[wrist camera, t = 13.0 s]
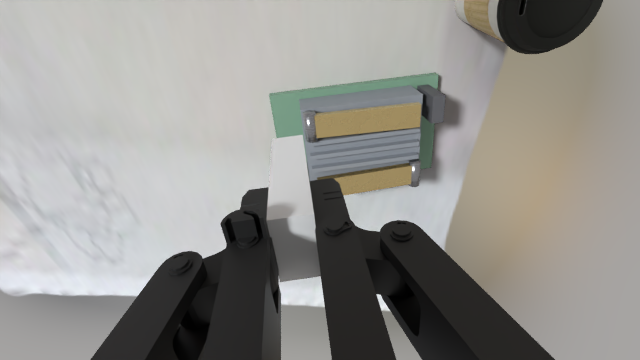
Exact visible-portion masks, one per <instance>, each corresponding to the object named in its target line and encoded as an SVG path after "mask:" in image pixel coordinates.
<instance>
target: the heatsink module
mask: <svg viewBox="0 0 640 360" xmlns="http://www.w3.org/2000/svg"><path fill="white" fill-rule="evenodd" d="M437 88H438V74H437V73H429V74H421V75H413V76H405V77H397V78H389V79H381V80H373V81H365V82H357V83H350V84H342V85H334V86H326V87H318V88H310V89H302V90H294V91H286V92H278V93H270V95H269V97H270V102H271V108H272V114H273V119H274V125H275V130H276V136H277V138H282V137H289V136H297V135H303V141H304V148H305V155H306V162H307V169H308V176H309V181H313V180H317V177H323V176H330V175H336V174H342V173H348V172H354V171H361V170H367V169H373V168H379V167H385V166H391V165H398V164H404V163H409V160H412V159H419V160H421V165H420V169H425V168H431V162H432V150H433V137H434V125H435V123H440V122H443V118H444V108H445V97H446V95H444V94H443V93H441V92H439V91H438V90H437ZM415 102H419V103H420V104H421V119H420V127H416V128H407V129H398V130H389V131H379V132H370V133H361V134H351V135H342V136H333V137H324V138H318V141H316V142H312V143H309V142H307V141H306V135H305V127H304V119H303V112H304V111H307V110H314V111H315V113H323V112H332V111H341V110H351V109H360V108H369V107H378V106H387V105H397V104H406V103H415Z"/></svg>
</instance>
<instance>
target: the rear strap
mask: <svg viewBox="0 0 640 360" xmlns="http://www.w3.org/2000/svg"><path fill="white" fill-rule="evenodd" d="M420 165H421V160H419V159H412V160H409V163H404V164H398V165H391V166H385V167H379V168H373V169H367V170H361V171H354V172H348V173H342V174H336V175H330V176H323V177H317V180H320V179H328V178H334V179H335V180H336V181H337V182H338V183H340V187H341V190H342V193H343V195H349V194H354V193H360V192H366V191H372V190H378V189H384V188H390V187H396V186H402V185H409V186H411V187H417V186H419V181H420Z"/></svg>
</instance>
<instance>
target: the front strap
mask: <svg viewBox="0 0 640 360" xmlns="http://www.w3.org/2000/svg"><path fill="white" fill-rule="evenodd" d="M303 119H304V127H305V135H306V141H307V142H309V143H312V142H316V141H318V138H324V137H333V136H342V135H351V134H361V133H370V132H379V131H389V130H398V129H407V128H416V127H420V119H421V104H420V103H419V102H415V103H406V104H397V105H387V106H378V107H369V108H360V109H351V110H341V111H332V112H323V113H315V111H314V110H307V111H304V112H303Z"/></svg>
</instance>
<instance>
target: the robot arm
mask: <svg viewBox="0 0 640 360" xmlns="http://www.w3.org/2000/svg"><path fill="white" fill-rule="evenodd" d="M221 227H222V230H223V233H224V236H225V240H226V243H227V246H226V249H224V250H223V251H221V252H219V253H217V254H215V255H212V256H209V257H206V258H204V259H202V256H201V255H200V254H198V253H197V252H192V251H188V252H181V253H179V254H176V255H173V256H172V257H170V258H169V259H167V260H166V261H165V262H164V263H163V264H162V265H161V266H160V267H159V268H158V270H157V271H156V272H155V274H154V275H153V276H152V278H151V279H150V280H149V282H148V283H147V284H146V286H145V287H144V288H143V290H142V291H141V292H140V294H139V295H138V297H137V298H136V299H135V301H134V302H133V303H132V305H131V306H130V307H129V309H128V310H127V311H126V313H125V314H124V315H123V317H122V318H121V319H120V321H119V322H118V324H117V325H116V326H115V327H114V329H113V330H112V332H111V333H110V334H109V336H108V337H107V338H106V340H105V341H104V342H103V344H102V345H101V346H100V348H99V349H98V350H97V352H96V353H95V354H94V356H93V357H92V358H91V360H281V293H280V289H279V284H278V276H279V279H280V282H284V281H290V280H297V279H304V278H311V277H318V276H321V280H322V288H323V295H324V303H325V310H326V318H327V325H328V332H329V340H330V348H331V355H332V360H396V358H395V354H394V351H393V348H392V344H391V341H390V338H389V334H388V331H387V328H386V325H385V321H384V318H383V315H382V312H381V308H380V305H379V302H378V299H377V295H376V294H381V296H382V299H383V300H384V302H385V303H386V305H387V306H388V308H389V309H390V311H391V312H392V314H393V315H394V317H395V319H396V320H397V322H398V323H399V325H400V326H401V328H402V329H403V331H404V332H405V334H406V335H407V337H408V339H409V340H410V342H411V343H412V345H413V346H414V348H415V349H416V351H417V352H418V354H419V355H420V357H421V359H422V360H555V359H554V358H553V357H551V355H549V353H548V352H547V351H546V350H544V349H543V348H542V347H541V346H540V345H539V344H538V343H537V342H536V341H535V340H534V339H533V338H532V337H531V336H530V335H529V334H528V333H527V332H526V331H525V330H524V329H523V328H522V327H521V326H520V325H519V324H518V323H517V322H516V321H515V320H514V319H513V318H512V317H511V316H510V315H509V314H508V313H507V312H506V311H505V310H504V309H503V308H502V307H501V306H500V305H499V304H498V303H496V301H495V300H494V299H492V298H491V297H490V296H489V295H488V294H487V293H486V292H485V291H484V290H483V289H482V288H481V287H480V286H479V285H478V284H477V283H476V282H475V281H474V280H473V279H472V278H471V277H470V276H469V275H468V274H467V273H466V272H465V271H464V270H463V269H462V268H461V267H460V266H459V265H458V264H457V263H456V262H455V261H454V260H452V258H451V257H450V256H449V255H448V254H447V253H446V252H445V251H444V250H442V249H441V248H440V247H439V246H438V245H437V244H436V243H435V242H434V241H433V240H432V239H431V238H430V237H429V236H428V235H427V234H426V233H425V232H424V231H423V230H422V229H421V228H420V227H419V226H417V225H416V224H414V223H411V222H408V221H400V220H397V221H392V222H389V223H387V224H385V225H384V226H383V227H382V228H381V230H380V232H377V231H368V230H363V229H361V228H358V227H357V226H355V225H354V223H353V222H352V221H351V220H350V217H349V214H348V210H347V207H346V204H345V200H344V197H343V193H342V190H341V187H340V183H338V182H337V181H336V180H335V179H334V178H328V179H320V180H313V181H309V176H308V169H307V162H306V155H305V148H304V141H303V135H297V136H289V137H282V138H274V139H272V144H271V159H270V174H269V187H268V188H261V189H253V190H248V192H247V193H246V194H245V195H244V196H243V197H242V202H241V208H240V210H236V211H234V212H232V213H230V214H228V215H227V216H226V217H225V218H224V219H223V220H222V222H221Z"/></svg>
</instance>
